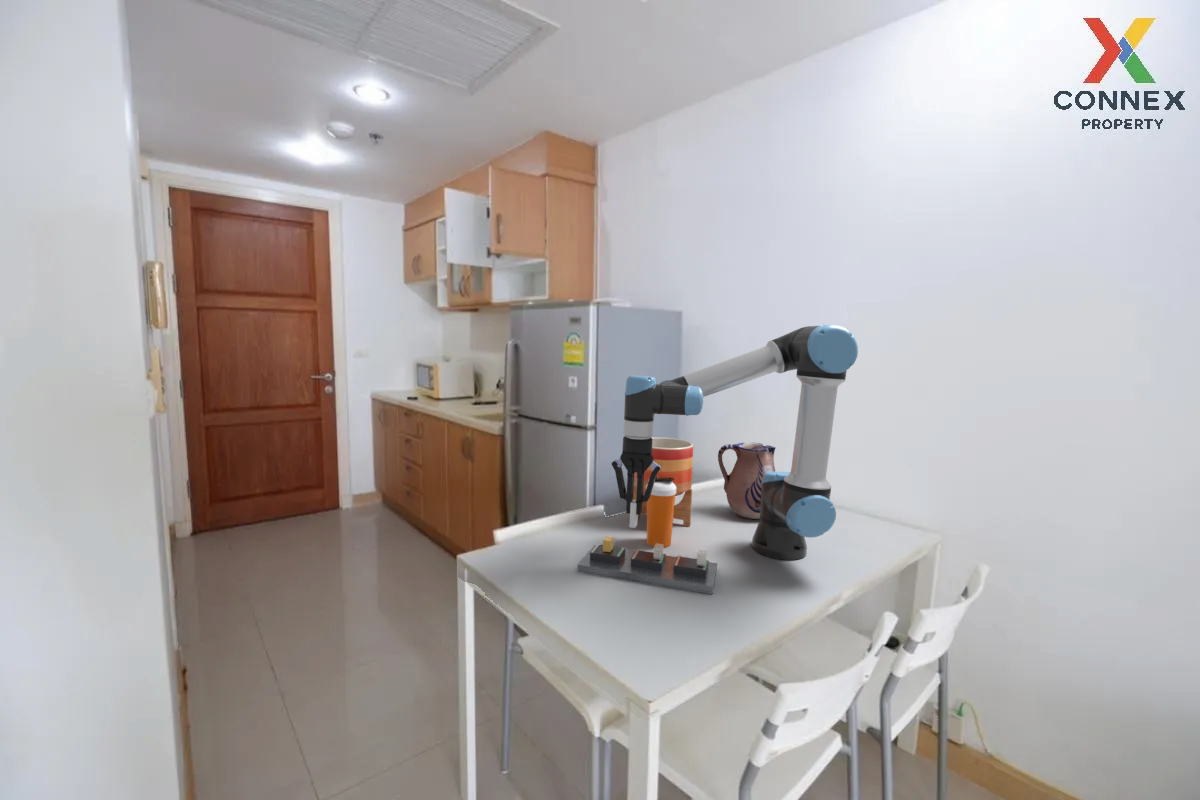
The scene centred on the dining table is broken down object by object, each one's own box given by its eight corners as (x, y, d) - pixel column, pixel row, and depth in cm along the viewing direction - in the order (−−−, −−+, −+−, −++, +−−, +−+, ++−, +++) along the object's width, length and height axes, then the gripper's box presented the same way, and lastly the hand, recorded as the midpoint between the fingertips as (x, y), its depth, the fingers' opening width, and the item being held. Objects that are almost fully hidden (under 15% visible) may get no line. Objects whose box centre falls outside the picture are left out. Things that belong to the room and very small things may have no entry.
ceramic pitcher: (784, 524, 173) (789, 451, 170) (721, 522, 173) (725, 449, 170) (768, 508, 190) (772, 441, 187) (711, 506, 190) (714, 439, 188)
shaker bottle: (673, 550, 148) (676, 482, 146) (642, 547, 150) (644, 480, 148) (674, 539, 157) (677, 474, 155) (645, 536, 159) (648, 472, 156)
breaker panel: (717, 570, 136) (718, 544, 135) (712, 594, 122) (713, 565, 122) (594, 551, 146) (594, 527, 145) (577, 572, 132) (578, 545, 132)
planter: (622, 526, 167) (625, 444, 164) (641, 508, 185) (644, 435, 182) (682, 536, 159) (686, 451, 156) (696, 517, 178) (700, 440, 175)
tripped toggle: (613, 548, 138) (613, 537, 138) (610, 552, 135) (610, 541, 135) (606, 547, 139) (606, 536, 138) (602, 551, 136) (603, 540, 135)
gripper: (665, 436, 133) (660, 524, 136) (617, 431, 137) (613, 518, 139) (660, 441, 126) (655, 534, 129) (609, 436, 130) (605, 527, 132)
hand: (633, 525), depth 134 cm, fingers closed
